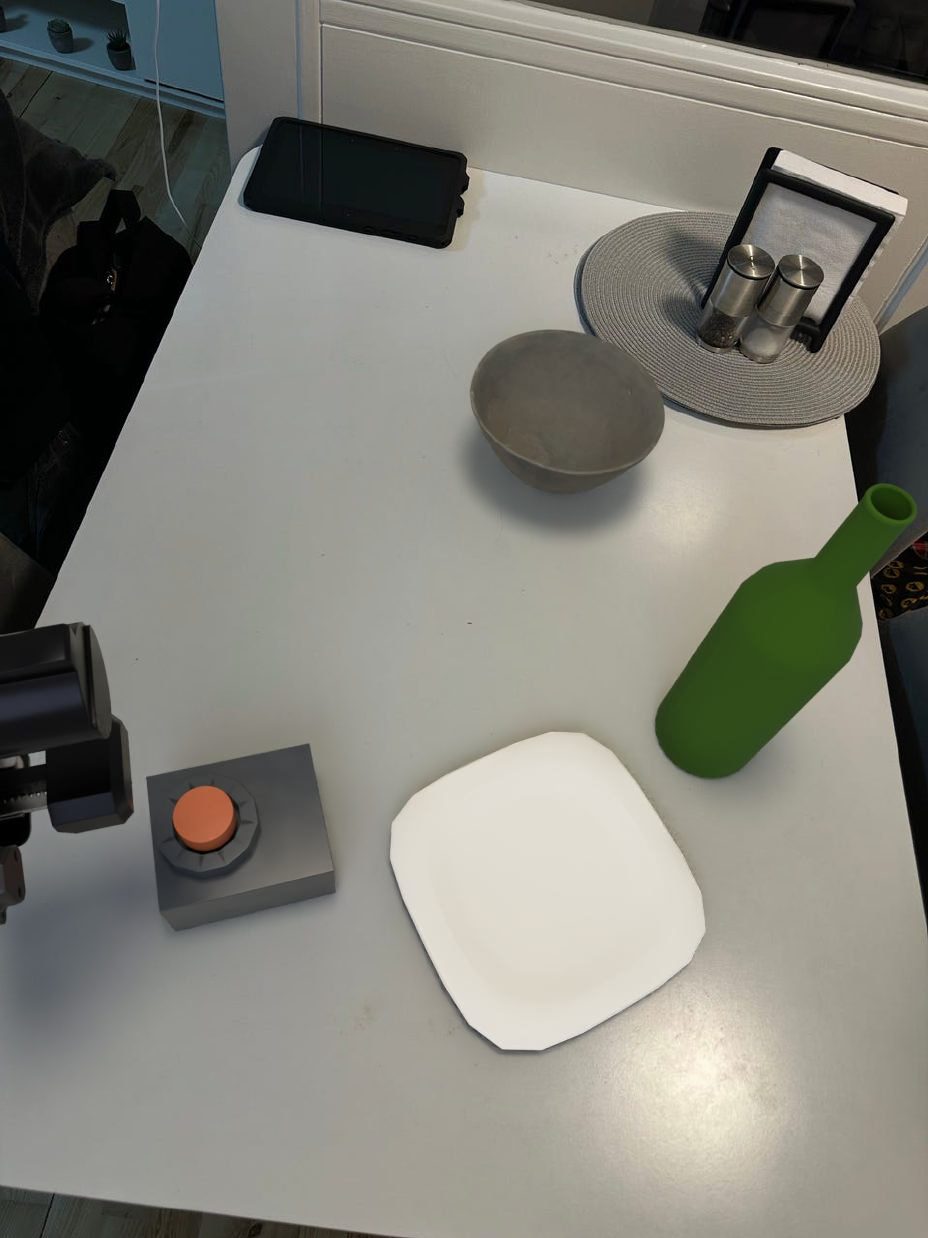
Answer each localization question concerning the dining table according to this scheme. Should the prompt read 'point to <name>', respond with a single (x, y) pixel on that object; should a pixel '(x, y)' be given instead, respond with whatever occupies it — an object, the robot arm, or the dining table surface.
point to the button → (204, 818)
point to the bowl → (566, 409)
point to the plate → (545, 889)
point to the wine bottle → (777, 644)
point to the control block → (243, 840)
